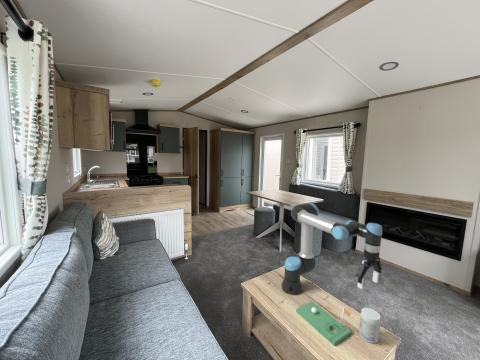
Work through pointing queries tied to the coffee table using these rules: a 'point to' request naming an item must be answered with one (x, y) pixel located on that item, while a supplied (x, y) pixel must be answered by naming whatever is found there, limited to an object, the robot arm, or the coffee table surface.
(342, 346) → the coffee table surface
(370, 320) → the supplement tub
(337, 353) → the coffee table surface
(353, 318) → the coffee table surface
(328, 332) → the putting strip
